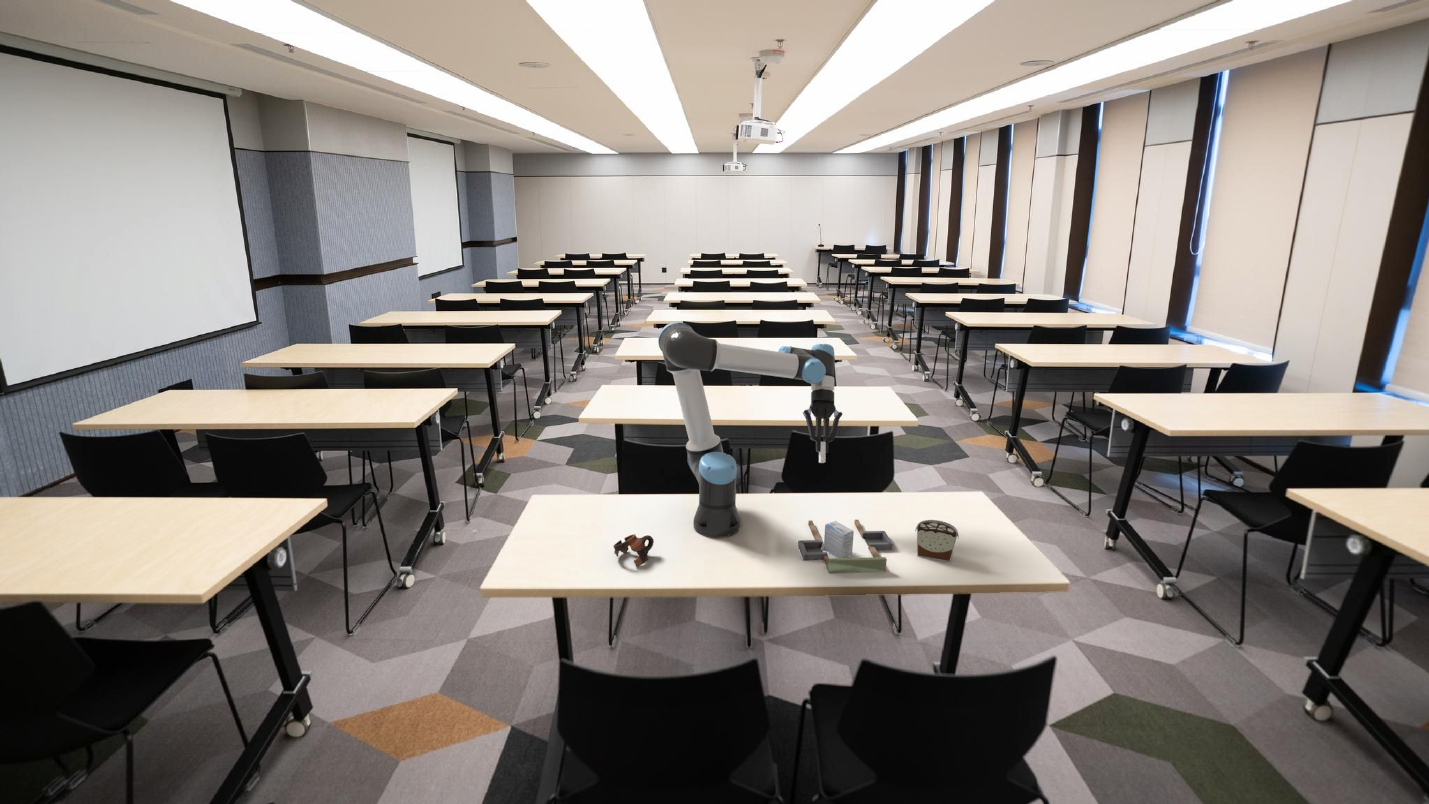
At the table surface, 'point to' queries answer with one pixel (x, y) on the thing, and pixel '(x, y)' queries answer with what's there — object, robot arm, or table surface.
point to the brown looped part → (635, 547)
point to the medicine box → (838, 540)
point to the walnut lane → (852, 564)
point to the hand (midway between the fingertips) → (822, 462)
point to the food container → (936, 539)
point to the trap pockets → (814, 552)
